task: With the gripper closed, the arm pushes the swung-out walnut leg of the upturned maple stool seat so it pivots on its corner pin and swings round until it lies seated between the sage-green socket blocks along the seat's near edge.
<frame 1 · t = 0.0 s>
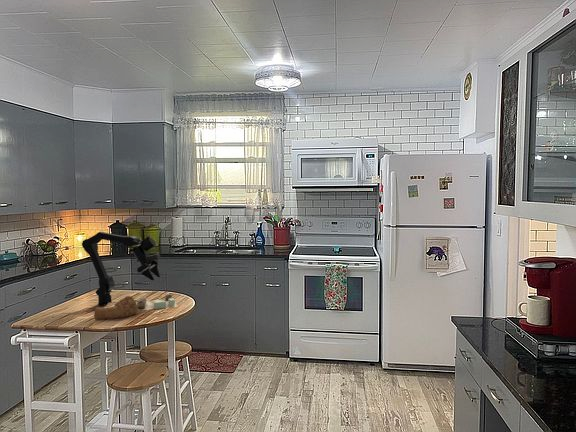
hand: (156, 278, 268), 15 cm above the table, tool tilted 35°, fingers open, 9 cm apart
tan rounded lump: (118, 318, 241), on the table
hinged leg: (142, 301, 261), point 3 cm above the table, hinge at 78.0°
socket blocks: (164, 303, 259), point 3 cm above the table
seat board: (154, 306, 264), on the table
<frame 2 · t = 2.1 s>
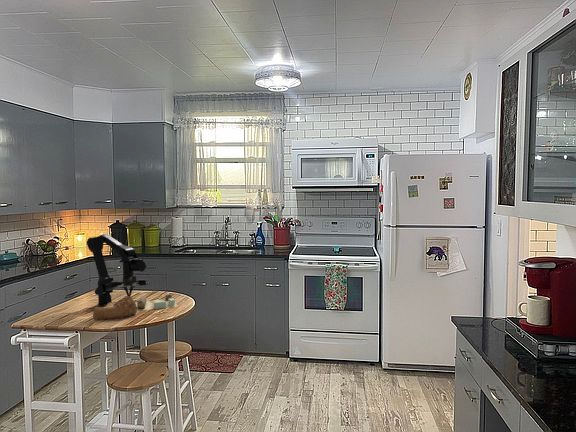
hand: (129, 298, 263), 5 cm above the table, tool pointing down, fingers closed
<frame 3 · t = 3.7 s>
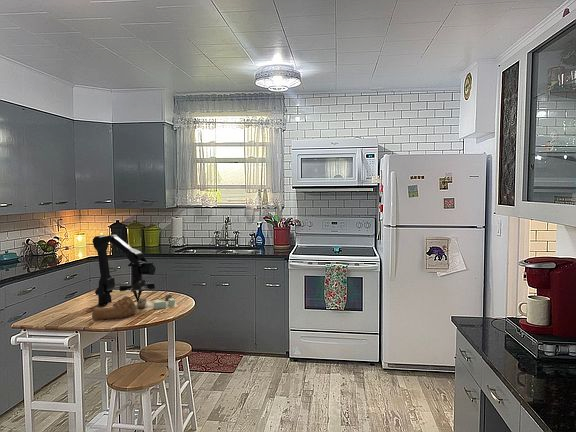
hand: (137, 301, 264), 3 cm above the table, tool pointing down, fingers closed
hinged leg: (142, 301, 261), point 3 cm above the table, hinge at 78.0°, touching gripper
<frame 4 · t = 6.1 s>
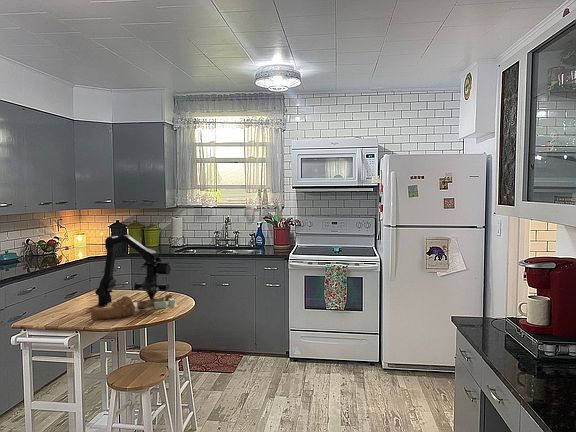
hand: (151, 301, 265), 3 cm above the table, tool pointing down, fingers closed
hinged leg: (150, 302, 260), point 3 cm above the table, hinge at 33.0°, touching gripper
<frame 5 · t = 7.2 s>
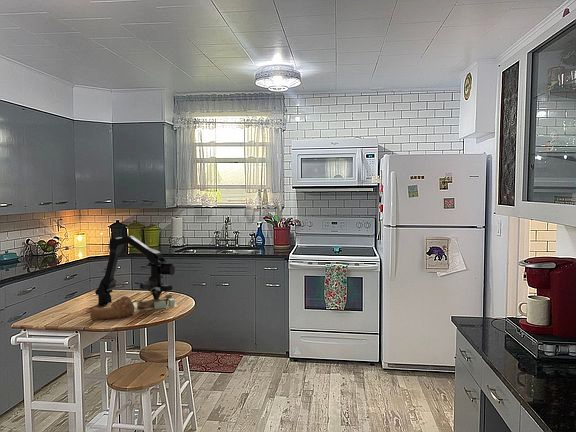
hand: (156, 302, 264), 3 cm above the table, tool pointing down, fingers closed
hinged leg: (152, 302, 259), point 3 cm above the table, hinge at 14.9°, touching gripper
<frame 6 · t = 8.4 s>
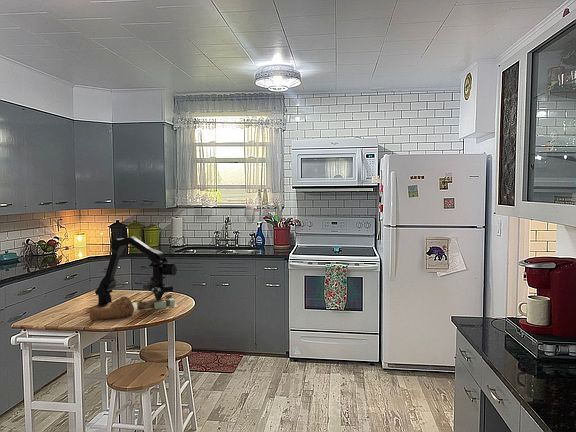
hand: (158, 302, 262), 3 cm above the table, tool pointing down, fingers closed
hinged leg: (152, 303, 258), point 3 cm above the table, hinge at 3.2°, touching gripper
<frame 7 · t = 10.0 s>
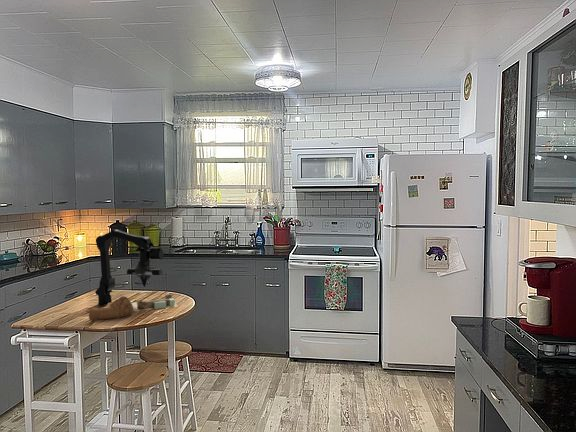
hand: (144, 286, 266), 11 cm above the table, tool pointing down, fingers closed
hinged leg: (152, 303, 258), point 3 cm above the table, hinge at 3.0°
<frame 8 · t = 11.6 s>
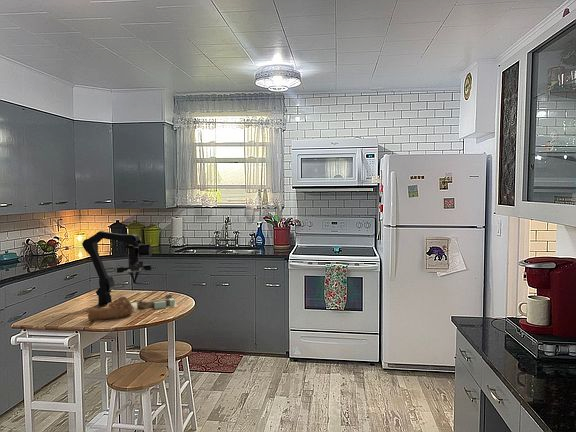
hand: (134, 283, 270), 12 cm above the table, tool pointing down, fingers closed
at the end: hinged leg at +3° (first picture: +78°); the gripper is holding nothing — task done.
